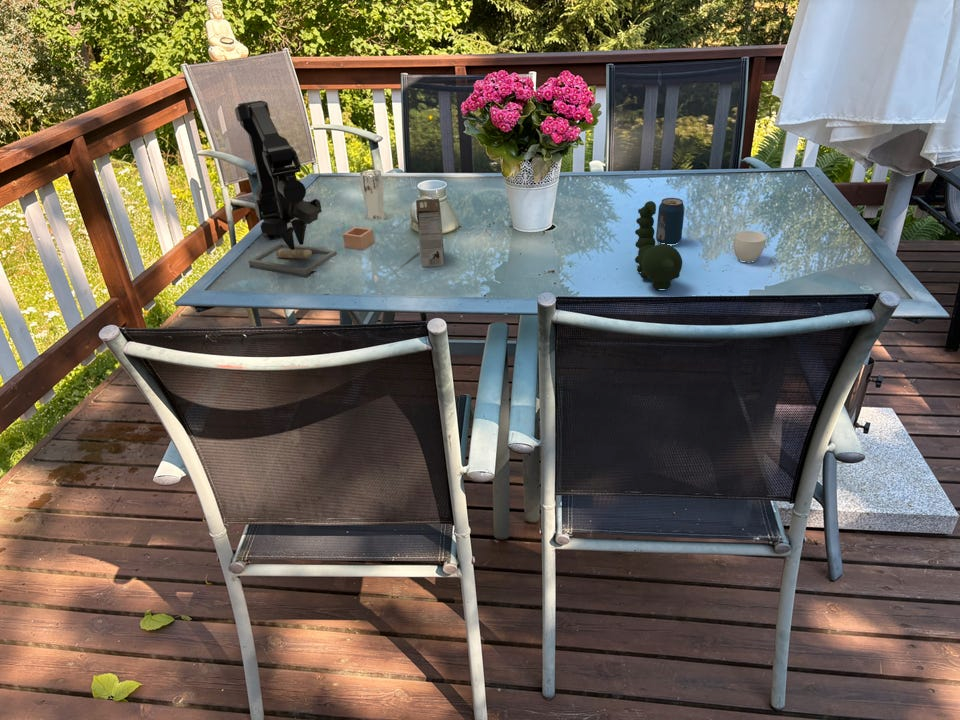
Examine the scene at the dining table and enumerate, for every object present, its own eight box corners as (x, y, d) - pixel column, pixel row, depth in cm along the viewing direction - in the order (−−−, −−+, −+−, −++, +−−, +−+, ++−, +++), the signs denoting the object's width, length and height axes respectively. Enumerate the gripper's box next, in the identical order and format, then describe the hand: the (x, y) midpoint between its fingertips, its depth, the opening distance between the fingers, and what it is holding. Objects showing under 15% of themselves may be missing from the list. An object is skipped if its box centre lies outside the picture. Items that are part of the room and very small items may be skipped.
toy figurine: (624, 267, 189) (650, 301, 167) (627, 197, 181) (654, 223, 158) (658, 265, 190) (689, 298, 167) (663, 195, 181) (696, 220, 159)
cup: (734, 266, 183) (738, 241, 179) (726, 251, 191) (729, 227, 188) (765, 265, 182) (769, 241, 179) (755, 250, 191) (759, 227, 187)
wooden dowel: (273, 252, 198) (296, 238, 192) (278, 249, 200) (302, 235, 194) (285, 271, 200) (309, 258, 193) (291, 268, 202) (315, 255, 195)
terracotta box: (345, 250, 204) (342, 234, 202) (357, 242, 209) (355, 226, 206) (363, 253, 202) (360, 236, 199) (374, 245, 207) (372, 229, 204)
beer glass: (383, 223, 222) (377, 176, 214) (362, 222, 223) (355, 175, 216) (390, 215, 228) (384, 169, 220) (369, 214, 229) (363, 169, 221)
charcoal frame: (249, 267, 197) (248, 260, 196) (282, 248, 208) (280, 242, 207) (306, 277, 189) (305, 270, 188) (337, 257, 200) (336, 251, 199)
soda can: (683, 239, 200) (687, 198, 193) (678, 248, 194) (682, 206, 188) (658, 236, 202) (662, 195, 196) (653, 245, 197) (656, 204, 191)
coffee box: (421, 254, 199) (415, 199, 191) (443, 252, 200) (439, 197, 191) (421, 267, 191) (416, 210, 183) (445, 265, 192) (440, 209, 183)
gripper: (287, 207, 177) (299, 264, 185) (331, 184, 191) (340, 238, 199) (253, 202, 181) (266, 258, 189) (299, 180, 195) (308, 233, 203)
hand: (297, 247), depth 195 cm, fingers open, 4 cm apart
